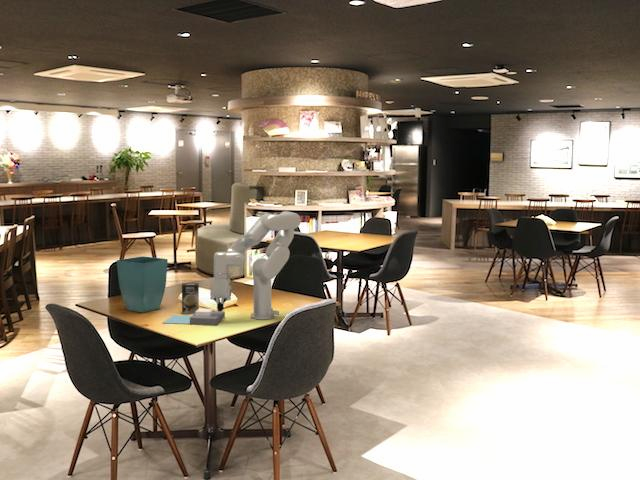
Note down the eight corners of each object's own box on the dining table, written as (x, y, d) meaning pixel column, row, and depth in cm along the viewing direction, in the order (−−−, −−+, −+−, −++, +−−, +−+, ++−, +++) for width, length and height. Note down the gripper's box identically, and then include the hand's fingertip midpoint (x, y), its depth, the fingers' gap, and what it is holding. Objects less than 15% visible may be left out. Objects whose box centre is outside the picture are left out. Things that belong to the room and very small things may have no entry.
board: (224, 317, 337) (224, 311, 336) (216, 325, 321) (216, 318, 320) (199, 316, 338) (199, 310, 338) (189, 324, 322) (189, 317, 322)
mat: (198, 316, 338) (198, 316, 338) (189, 324, 322) (189, 323, 322) (172, 315, 340) (172, 315, 340) (162, 323, 324) (162, 322, 324)
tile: (214, 313, 332) (214, 308, 332) (210, 316, 325) (210, 312, 325) (199, 312, 333) (199, 308, 333) (195, 315, 326) (195, 311, 326)
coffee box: (181, 314, 343) (181, 285, 341) (182, 311, 350) (181, 282, 348) (199, 313, 345) (198, 284, 343) (198, 310, 351) (198, 282, 349)
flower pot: (144, 303, 367) (142, 255, 363) (169, 308, 357) (168, 258, 353) (117, 310, 350) (115, 260, 346) (142, 315, 340) (141, 263, 336)
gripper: (236, 275, 329) (236, 310, 331) (208, 274, 330) (208, 308, 332) (233, 278, 321) (232, 313, 323) (204, 276, 323) (204, 311, 325)
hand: (220, 310), depth 328 cm, fingers closed
